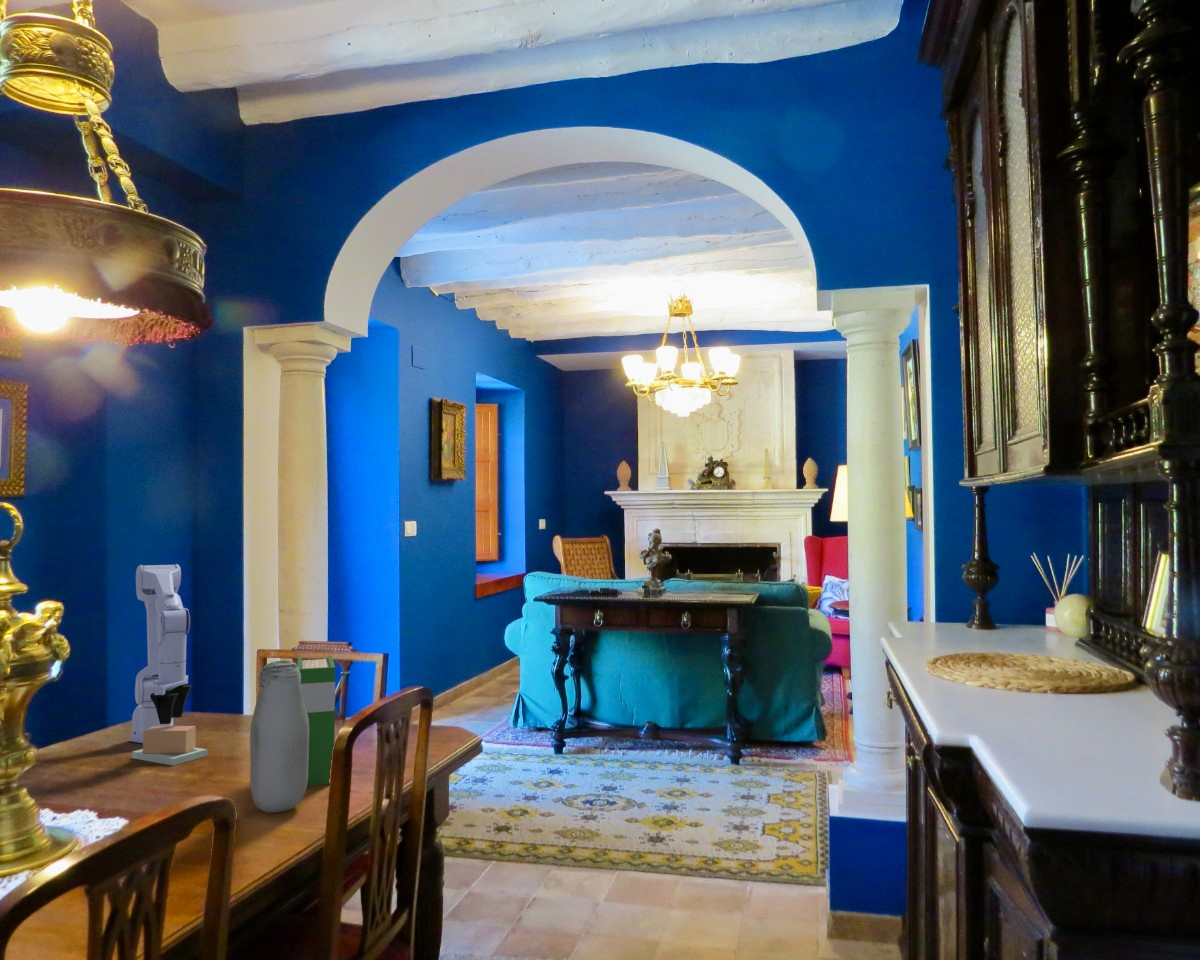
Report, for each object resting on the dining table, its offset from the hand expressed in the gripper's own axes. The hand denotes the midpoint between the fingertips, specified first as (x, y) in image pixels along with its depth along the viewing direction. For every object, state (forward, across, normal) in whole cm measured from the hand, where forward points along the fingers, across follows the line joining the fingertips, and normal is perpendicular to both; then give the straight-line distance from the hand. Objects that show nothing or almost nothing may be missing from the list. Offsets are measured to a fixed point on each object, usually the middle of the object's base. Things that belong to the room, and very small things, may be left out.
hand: (170, 720), depth 199 cm
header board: (+8, 0, 0) cm, 8 cm away
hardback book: (+9, +17, +36) cm, 41 cm away
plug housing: (+7, 0, 0) cm, 7 cm away
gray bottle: (+9, +41, +36) cm, 55 cm away
